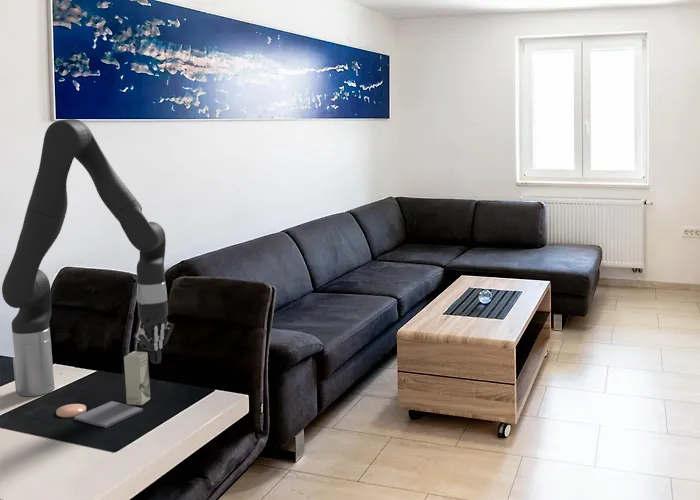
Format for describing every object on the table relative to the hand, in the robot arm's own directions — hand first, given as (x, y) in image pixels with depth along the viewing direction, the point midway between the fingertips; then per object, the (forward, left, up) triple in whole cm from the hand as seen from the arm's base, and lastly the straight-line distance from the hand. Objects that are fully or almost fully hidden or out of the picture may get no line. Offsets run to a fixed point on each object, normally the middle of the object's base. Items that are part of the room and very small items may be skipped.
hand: (156, 362), depth 198 cm
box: (0, -7, -9) cm, 11 cm away
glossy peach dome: (-10, -20, -8) cm, 24 cm away
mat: (0, -17, -8) cm, 19 cm away
